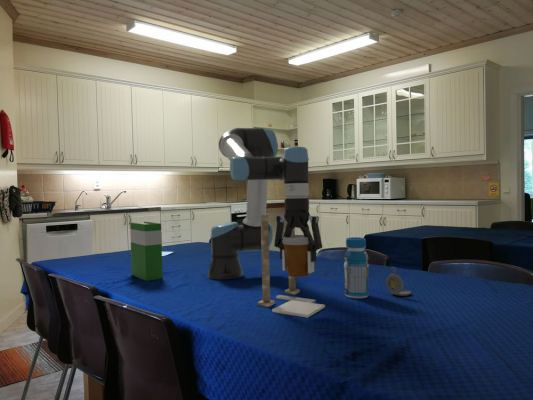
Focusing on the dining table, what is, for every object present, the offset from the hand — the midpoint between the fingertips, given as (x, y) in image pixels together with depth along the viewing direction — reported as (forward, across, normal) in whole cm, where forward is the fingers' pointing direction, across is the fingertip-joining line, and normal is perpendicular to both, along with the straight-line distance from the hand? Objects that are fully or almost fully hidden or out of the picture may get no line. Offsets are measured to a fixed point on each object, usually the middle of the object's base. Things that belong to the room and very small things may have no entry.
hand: (298, 271), depth 127 cm
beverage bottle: (+12, +10, +24) cm, 29 cm away
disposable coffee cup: (+1, 0, 0) cm, 1 cm away
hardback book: (+12, -84, +14) cm, 86 cm away
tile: (+12, 0, 0) cm, 12 cm away
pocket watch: (+12, +22, +32) cm, 41 cm away
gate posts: (+12, -12, +9) cm, 19 cm away
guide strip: (+12, -6, +9) cm, 16 cm away
